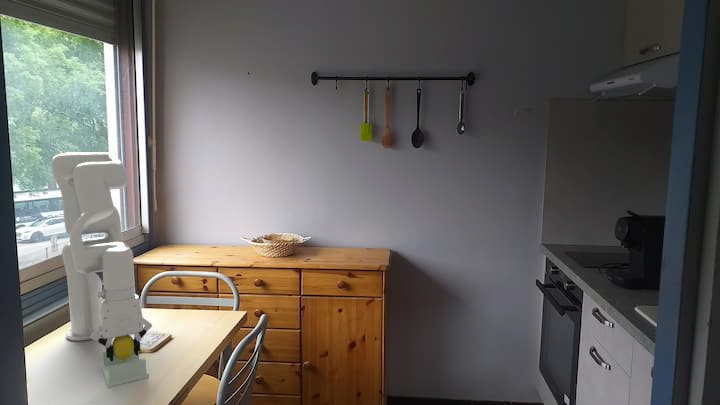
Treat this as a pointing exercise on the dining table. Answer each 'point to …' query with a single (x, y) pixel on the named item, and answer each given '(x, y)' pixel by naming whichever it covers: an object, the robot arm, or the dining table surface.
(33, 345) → the dining table surface
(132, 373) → the holder
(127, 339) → the lemon
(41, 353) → the dining table surface
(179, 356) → the dining table surface
